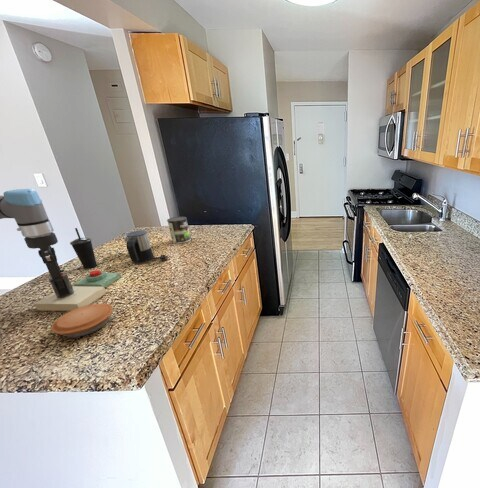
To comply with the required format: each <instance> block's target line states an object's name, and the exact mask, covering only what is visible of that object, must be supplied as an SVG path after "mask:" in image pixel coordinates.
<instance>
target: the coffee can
mask: <svg viewBox="0 0 480 488" xmlns="http://www.w3.org/2000/svg"><path fill="white" fill-rule="evenodd" d="M166 221H167V225H168V230H169V233H170V238H171V241H172V243H173V244H176V245H177V244H178V245H179V244H185V243H188V242H190V241H191V240H192V239H191V234H190V229H189V224H188V220H187V217H186V216H173V217H170V218H167V220H166Z"/></svg>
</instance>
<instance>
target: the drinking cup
mask: <svg viewBox="0 0 480 488" xmlns="http://www.w3.org/2000/svg"><path fill="white" fill-rule="evenodd" d="M74 230H75V233H76V235H77V237H78V238H75V239H73V240H72V241H70V242H69V245H70V246H72V247H71V248H72V249H73V251H74V252H75V254H76V256H77V258H78V260H79V262H80V263H81V265H82V267H83V269H85V270H90V269H94V268H96V267H97V266H98V264H97V259H96V256H95V251H94V248H93V243H92V238H90V237H81V235H80V232H79V229H78V228H77V227H75V228H74Z"/></svg>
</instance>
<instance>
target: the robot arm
mask: <svg viewBox="0 0 480 488" xmlns="http://www.w3.org/2000/svg"><path fill="white" fill-rule="evenodd" d="M39 195H40V194H38V192H37V190H35V189H33V188H20V189H19V188H18V189H11V190H5V191H4V192H3V195H0V220H3V219H14V221H15V223H16V225H17V226H18V228H16V231H17V232H20V233H21V235H22V236H23V237H24V238H23V240H24V242H25V244H26V246H27V248H29V249H32V250H33V249H38V251H37V254H38V256H39V257H40V258H41V259H42V262H43V264H45V266H46V269H47V270H48V273H49V275H50V276H51V277H52V280H51V282H54V284H55V286H56V288H57V290H58V293H59V295H60V297H61V296H64V295H67V294H70V292H69V290H68V287H67V285H66V283H65V280H64V278H63V277H62V275H61V273H65V269H61V266H60V265H59V262H58V258H57V254H56V250H55V247H52V246H54V245H56V244H58V242H59V240H58V237H57V236H56V233H55V232H54V227H53V225H52V223H51V221H50V219H49V216H48V213H47V211H46V208H45V207H44V204H43V200H42V198H40V196H39Z"/></svg>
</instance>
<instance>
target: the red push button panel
mask: <svg viewBox="0 0 480 488" xmlns="http://www.w3.org/2000/svg"><path fill="white" fill-rule="evenodd" d="M100 272H101V275H99V276H96V277H91V276H90V274H89V273H88V274H87V275H86V276H85V277H83V278H82V279H79V280H78V281H76V282H73V283H72V286H87V287H104V288H105V289H106V287H108V286H110V285H111V284H113V283H114V282H116V281H117V280H119V279H120V278H122V276H121V274H120V272H106V271H104V270H100Z"/></svg>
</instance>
